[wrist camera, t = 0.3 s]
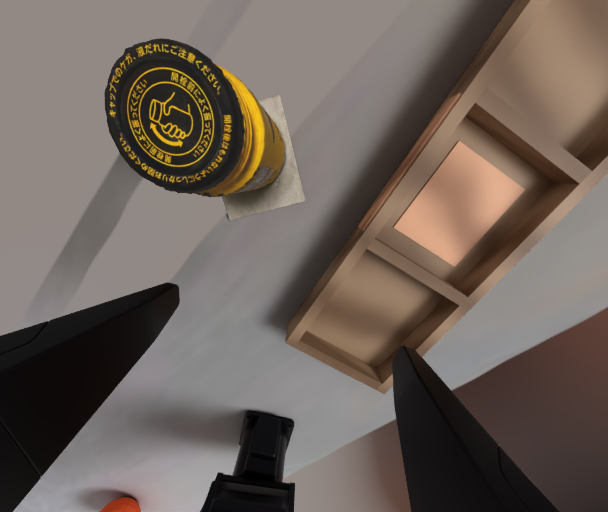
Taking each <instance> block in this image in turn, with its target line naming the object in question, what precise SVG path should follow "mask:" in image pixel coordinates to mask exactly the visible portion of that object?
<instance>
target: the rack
mask: <svg viewBox="0 0 608 512" xmlns="http://www.w3.org/2000/svg"><path fill="white" fill-rule="evenodd" d="M607 174H608V0H514V2H513V3H512V4H511V6H510V7H509V9H508V10H507V12H506V13H505V14H504V16H503V17H502V19H501V20H500V22H499V23H498V25H497V26H496V27H495V29H494V30H493V32H492V33H491V35H490V36H489V37H488V39H487V40H486V42H485V43H484V45H483V46H482V47H481V49H480V50H479V52H478V53H477V55H476V56H475V57H474V59H473V60H472V62H471V63H470V65H469V66H468V68H467V69H466V70H465V72H464V73H463V75H462V76H461V78H460V79H459V80H458V82H457V83H456V85H455V86H454V88H453V89H452V90H451V92H450V93H449V95H448V96H447V98H446V99H445V100H444V102H443V103H442V105H441V106H440V108H439V109H438V111H437V112H436V113H435V115H434V116H433V118H432V119H431V121H430V122H429V123H428V125H427V126H426V128H425V129H424V131H423V132H422V133H421V135H420V136H419V138H418V139H417V141H416V142H415V143H414V145H413V146H412V148H411V149H410V151H409V152H408V153H407V155H406V156H405V158H404V159H403V161H402V162H401V164H400V165H399V166H398V168H397V169H396V171H395V172H394V174H393V175H392V176H391V178H390V179H389V181H388V182H387V184H386V185H385V186H384V188H383V189H382V191H381V192H380V194H379V195H378V196H377V198H376V199H375V201H374V202H373V204H372V205H371V207H370V208H369V209H368V211H367V212H366V214H365V215H364V217H363V218H362V219H361V221H360V222H359V224H358V225H357V227H356V228H355V229H354V231H353V232H352V234H351V235H350V237H349V238H348V239H347V241H346V242H345V244H344V245H343V247H342V248H341V250H340V251H339V252H338V254H337V255H336V257H335V258H334V260H333V261H332V262H331V264H330V265H329V267H328V268H327V270H326V271H325V272H324V274H323V275H322V277H321V278H320V280H319V281H318V282H317V284H316V285H315V287H314V288H313V290H312V291H311V293H310V294H309V295H308V297H307V298H306V300H305V301H304V303H303V304H302V305H301V307H300V308H299V310H298V311H297V313H296V314H295V315H294V317H293V318H292V320H291V321H290V323H289V324H288V330H287V335H286V341H285V343H287V344H289V345H291V346H293V347H295V348H296V349H298V350H300V351H302V352H304V353H306V354H308V355H310V356H312V357H314V358H316V359H318V360H320V361H321V362H323V363H325V364H327V365H329V366H331V367H333V368H335V369H337V370H339V371H341V372H343V373H345V374H347V375H348V376H350V377H352V378H354V379H356V380H358V381H360V382H362V383H364V384H366V385H368V386H370V387H372V388H374V389H375V390H377V391H379V392H381V393H383V394H385V393H386V392H387V391H388V390H389V389H390V388H391V387H392V386H393V373H392V361H393V358H394V356H395V354H396V353H397V351H398V349H399V347H400V346H401V345H406V346H410V347H413V348H414V349H415V350H416V351H417V352H418V354H419V355H420V356H421V357H422V356H423V355H424V354H425V353H426V352H427V351H428V350H429V349H430V348H431V347H432V346H433V345H434V344H435V343H437V342H438V341H439V340H440V339H441V338H442V337H443V336H444V335H445V334H446V333H447V332H448V331H449V330H450V329H451V328H452V327H453V326H454V325H455V324H456V323H457V322H458V321H459V320H460V319H461V318H462V317H463V316H464V315H465V314H466V313H467V312H468V311H469V310H470V309H471V308H472V307H473V306H474V305H475V304H476V303H477V302H478V301H479V300H480V299H481V298H482V297H483V296H484V295H485V294H486V293H487V292H488V291H489V290H490V289H491V288H492V287H493V286H494V285H495V284H496V283H497V282H498V281H499V280H500V279H501V278H502V277H503V276H504V275H505V274H506V273H507V272H508V271H509V270H510V269H511V268H512V267H513V266H514V265H515V264H516V263H517V262H518V261H520V260H521V259H522V258H523V257H524V256H525V255H526V254H527V253H528V252H529V251H530V250H531V249H532V248H533V247H534V246H535V245H536V244H537V243H538V242H539V241H540V240H541V239H542V238H543V237H544V236H545V235H546V234H547V233H548V232H549V231H550V230H551V229H552V228H553V227H554V226H555V225H556V224H557V223H558V222H559V221H560V220H561V219H562V218H563V217H564V216H565V215H566V214H567V213H568V212H569V211H570V210H571V209H572V208H573V207H574V206H575V205H576V204H577V203H578V202H579V201H580V200H581V199H582V198H583V197H584V196H585V195H586V194H587V193H588V192H589V191H590V190H591V189H592V188H593V187H594V186H595V185H596V184H597V183H598V182H599V181H600V180H601V179H603V178H604V177H605V176H606V175H607Z"/></svg>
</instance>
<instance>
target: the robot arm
mask: <svg viewBox="0 0 608 512" xmlns="http://www.w3.org/2000/svg"><path fill="white" fill-rule="evenodd" d="M179 302H180V298H179V287H178V285H176V284H172V283H164V284H161V285H158V286H155V287H152V288H148V289H145V290H142V291H139V292H136V293H133V294H130V295H127V296H124V297H121V298H118V299H114V300H111V301H108V302H105V303H102V304H99V305H96V306H93V307H90V308H87V309H84V310H80V311H77V312H74V313H71V314H68V315H65V316H62V317H59V318H56V319H53V320H50V321H49V322H48V321H46V322H43V323H40V324H37V325H34V326H31V327H28V328H24V329H21V330H18V331H15V332H12V333H8V334H5V335H2V336H0V512H13V511H14V510H15V508H16V507H17V506H18V505H19V504H20V502H21V501H22V500H23V499H24V497H25V496H26V495H27V494H28V493H29V491H30V490H31V489H32V488H33V487H34V485H35V484H36V483H37V482H38V481H39V479H40V478H41V477H40V476H42V475H43V474H44V473H45V472H46V471H47V470H48V468H49V467H50V466H51V465H52V464H53V462H54V461H55V460H56V459H57V458H58V456H59V455H60V454H61V453H62V452H63V450H64V449H65V448H66V447H67V445H68V444H69V443H70V442H71V441H72V439H73V438H74V437H75V436H76V435H77V433H78V432H79V431H80V430H81V429H82V427H83V426H84V425H85V424H86V423H87V421H88V420H89V419H90V418H91V417H92V415H93V414H94V413H95V412H96V411H97V409H98V408H99V407H100V406H101V405H102V403H103V402H104V401H105V400H106V399H107V397H108V396H109V395H110V394H111V393H112V391H113V390H114V389H115V388H116V387H117V385H118V384H119V383H120V382H121V381H122V379H123V378H124V377H125V376H126V375H127V373H128V372H129V371H130V370H131V369H132V367H133V366H134V365H135V364H136V363H137V361H138V360H139V359H140V358H141V357H142V355H143V354H144V353H145V352H146V351H147V349H148V348H149V347H150V346H151V345H152V343H153V342H154V341H155V339H156V338H157V337H158V335H159V334H160V332H161V331H162V329H163V328H164V326H165V325H166V324H167V322H168V321H169V319H170V318H171V316H172V315H173V313H174V312H175V310H176V309H177V307H178V305H179ZM392 373H393V391H394V405H395V413H396V419H397V425H398V431H399V438H400V444H401V450H402V456H403V462H404V468H405V475H406V481H407V487H408V493H409V499H410V506H411V512H560V511H559V510H558V509H557V508H556V507H555V506H554V505H553V504H552V503H551V502H550V501H549V500H548V499H547V497H546V496H545V495H544V494H543V493H542V492H541V491H540V490H539V489H538V488H537V487H536V486H535V485H534V484H533V483H532V482H531V480H529V478H528V477H527V476H526V475H525V474H524V473H523V472H522V471H521V469H520V468H519V467H518V466H517V465H516V464H515V463H514V462H513V460H512V459H511V458H510V457H509V456H508V455H507V454H506V452H505V451H504V450H503V449H502V448H501V447H500V446H498V444H497V442H496V441H495V440H494V439H493V438H492V437H491V436H490V434H489V433H488V432H487V431H486V430H485V429H484V428H483V426H482V425H481V424H480V423H479V422H478V421H477V420H476V418H475V417H474V416H473V415H472V414H471V413H470V412H469V410H468V409H467V408H466V407H465V406H464V405H463V404H462V403H461V401H460V400H459V399H458V398H457V397H456V396H455V395H454V394H453V392H452V391H451V390H450V389H449V388H448V387H447V385H446V384H445V383H444V382H443V381H442V380H441V379H440V377H439V376H438V375H437V374H436V373H435V372H434V371H433V370H432V368H431V367H430V366H429V365H428V364H427V363H426V362H425V360H424V359H423V358H422V357H421V356H420V355H419V354H418V352H417V351H416V350H415V349H414V348H413V347H410V346H406V345H401V346H400V347H399V349H398V351H397V353H396V354H395V356H394V358H393V361H392ZM293 428H294V421H293V420H289V419H284V418H280V417H275V416H270V415H265V414H261V413H256V412H251V411H247V412H246V414H245V418H244V423H243V427H242V432H241V437H240V442H239V445H240V446H241V447H240V450H239V454H238V458H237V461H236V465H235V468H234V472H233V476H232V475H225V474H223V473H219V472H218V474H217V477H216V479H215V481H213V482H212V484H211V487H210V490H209V493H208V495H207V498H206V501H205V503H204V505H203V507H202V509H201V511H200V512H294V493H295V483H283V482H282V480H283V471H284V461H285V453H286V450H287V447H288V444H289V441H290V437H291V434H292V431H293Z"/></svg>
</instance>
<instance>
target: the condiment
mask: <svg viewBox="0 0 608 512" xmlns="http://www.w3.org/2000/svg"><path fill="white" fill-rule="evenodd" d="M105 110H106V115H107V123H108V127H109V132H110V134H111V136H112V138H113V140H114V142H115V144H116V146H117V148H118V150H119V152H120V154H121V155H122V157H123V158H124V159H125V160H126V162H127V163H128V164H129V166H130V167H131V168H132V169H134V170H135V171H136V172H137V173H138V174H139V175H140V176H142V177H144V178H145V179H147V180H149V181H151V182H153V183H155V184H156V185H158V186H160V187H164V188H165V189H166V190H169V191H175V192H177V193H189V194H192V193H195V194H199V195H202V196H208V197H216V196H217V197H219V196H222V198H223V201H224V204H225V207H226V211H227V213H228V216H229V219H230V220H233V219H237V218H241V217H245V216H249V215H252V214H257V213H260V212H264V211H268V210H272V209H276V208H280V207H284V206H288V205H292V204H296V203H300V202H304V201H305V197H304V193H303V189H302V185H301V181H300V177H299V173H298V168H297V164H296V160H295V156H294V152H293V148H292V144H291V140H290V135H289V131H288V127H287V123H286V119H285V115H284V111H283V107H282V103H281V99H280V95H277V96H273V97H271V98H267V99H264V100H261V101H258V100H257V98H255V96H254V95H253V93H252V92H251V91H250V90H249V89H248V88H247V87H246V85H244V83H243V82H242V81H241V80H240V79H238V78H237V77H236V76H234V75H233V74H231V73H230V72H229V71H227V70H226V69H224V68H222V67H220V66H218V65H216V64H214V63H213V62H212V61H211V59H210V58H208V57H207V56H205V55H204V54H202V53H201V52H200V51H198V50H197V49H195V48H193V47H191V46H189V45H187V44H184V43H181V42H178V41H174V40H170V39H154V40H150V41H147V42H143V43H138V44H135V45H134V46H132V47H130V48H126V49H125V52H124V54H123V56H121V57H120V58H119V59H118V60H117V61H116V63H115V64H114V66H113V67H112V70H111V73H110V76H109V79H108V85H107V88H106V89H105ZM277 179H279V181H277ZM276 183H278V185H277V186H275V185H276Z"/></svg>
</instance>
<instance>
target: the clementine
mask: <svg viewBox="0 0 608 512" xmlns="http://www.w3.org/2000/svg"><path fill="white" fill-rule="evenodd" d="M100 512H141V509H140V507H139V504H138V503H137V501H135V500H134V499H132V498H128V497H123V498H119V499H116V500H114V501H112V502H111V503H109V504H108V505H106V506H105V507H104V508H103V509H102V510H101V511H100Z"/></svg>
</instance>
